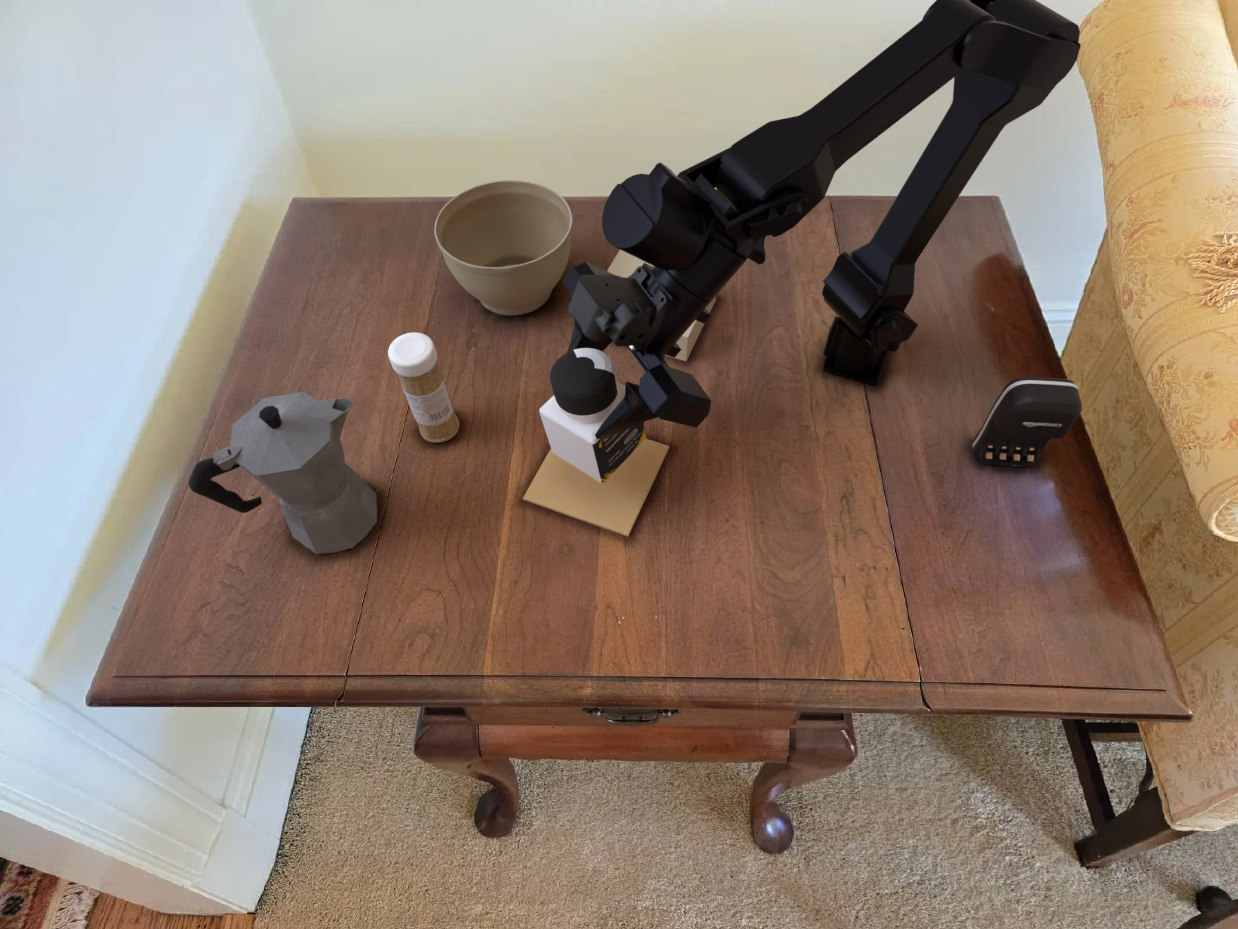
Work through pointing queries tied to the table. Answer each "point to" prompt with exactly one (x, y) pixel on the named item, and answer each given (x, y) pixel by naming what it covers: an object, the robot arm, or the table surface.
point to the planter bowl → (506, 243)
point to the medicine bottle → (587, 414)
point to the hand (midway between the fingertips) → (580, 408)
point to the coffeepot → (296, 470)
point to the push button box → (628, 264)
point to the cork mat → (599, 489)
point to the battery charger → (1027, 420)
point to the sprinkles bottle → (424, 386)
